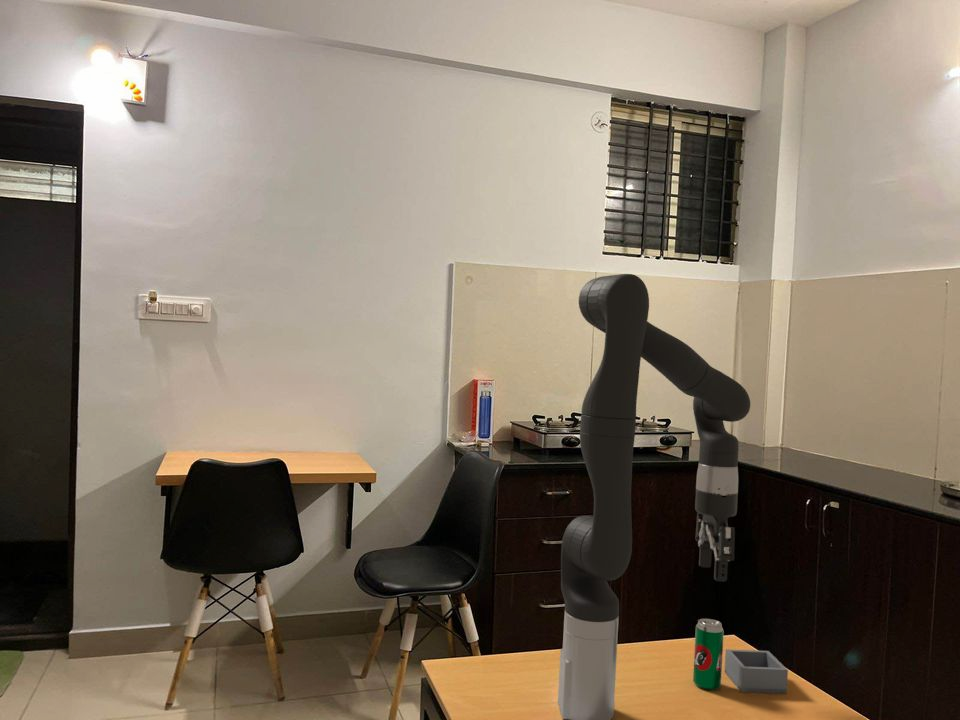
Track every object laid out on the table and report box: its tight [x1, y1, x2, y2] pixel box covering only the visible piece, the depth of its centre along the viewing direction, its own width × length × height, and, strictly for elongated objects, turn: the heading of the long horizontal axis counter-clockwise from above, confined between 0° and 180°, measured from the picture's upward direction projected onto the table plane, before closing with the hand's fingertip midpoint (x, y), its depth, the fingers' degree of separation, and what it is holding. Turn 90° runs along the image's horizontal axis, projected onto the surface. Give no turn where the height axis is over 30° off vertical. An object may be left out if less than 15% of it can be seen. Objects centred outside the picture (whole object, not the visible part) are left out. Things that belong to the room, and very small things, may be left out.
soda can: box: [692, 618, 725, 691], centre depth 137 cm, size 5×5×12 cm
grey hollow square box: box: [724, 648, 789, 695], centre depth 140 cm, size 9×9×4 cm
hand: (712, 573), depth 137 cm, fingers open, 8 cm apart
